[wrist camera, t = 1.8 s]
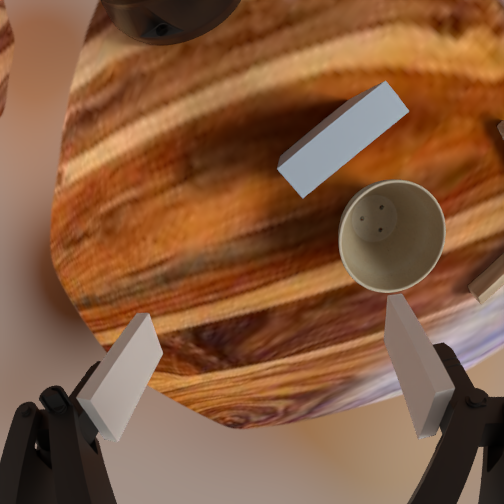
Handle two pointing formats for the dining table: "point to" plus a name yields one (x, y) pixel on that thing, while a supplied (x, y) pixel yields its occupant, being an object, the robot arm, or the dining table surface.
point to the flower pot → (391, 235)
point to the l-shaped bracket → (489, 268)
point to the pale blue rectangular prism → (340, 137)
